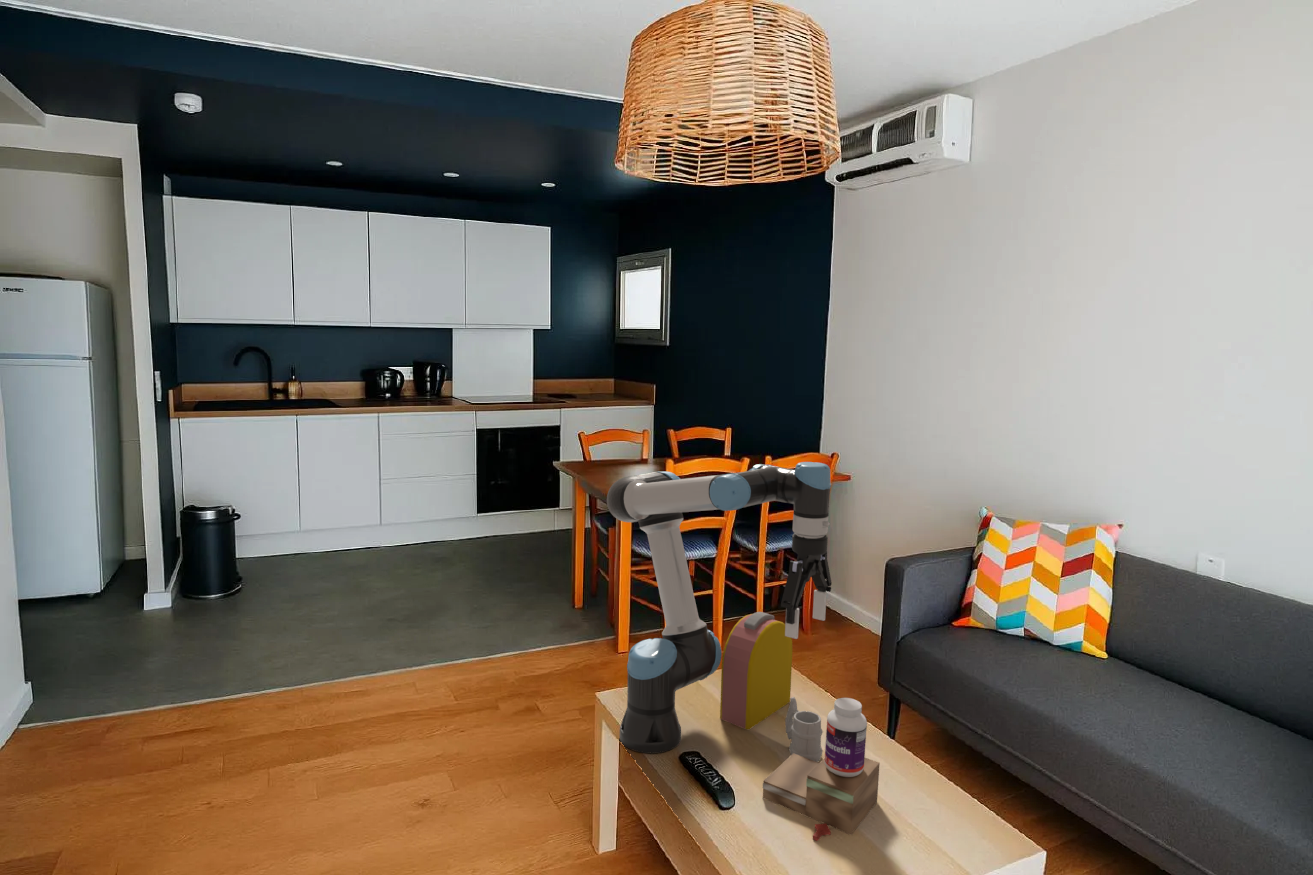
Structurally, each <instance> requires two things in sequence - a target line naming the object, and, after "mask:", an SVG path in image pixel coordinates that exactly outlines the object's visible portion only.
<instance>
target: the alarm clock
mask: <svg viewBox="0 0 1313 875" xmlns="http://www.w3.org/2000/svg"><path fill="white" fill-rule="evenodd" d="M785 624H786V623H785V622H783V621H779V620H776V619H775V615H773V614H771V613H770V614H769V613H767V612H764V611H757V612H754V613H750V614H745V615H744V616H743V617H742V618H740V619H739V620H738V621H737V622H736V624H734V626H733V627H732V629H731V631H730V633H729V635H728V637H727V640H726V642H725V644H724V648H723V652H722V657H721V675H720V676H721V679H720V682H721V683H720V705H719V706H720V708H719V709H720V710H719V712H720V713H719V719H721V720H722V721H725V722H727V723H729V724H732V725H735V726H737V727H740V728H742V729H744V730H751V729H752V728H754V727H755V726H757V725H759V723H761V722H763V721H764V720H766V719H767V718H768V717H770V716H772V715H773V714H774V713H776V712H777V711H778V710H781V708H783V707H785V706H787V704H790V698H791V689H792V688H791V687H792V667H793V638H791V637H787V636H785Z"/></svg>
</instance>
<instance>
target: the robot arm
mask: <svg viewBox="0 0 1313 875" xmlns="http://www.w3.org/2000/svg"><path fill="white" fill-rule="evenodd" d="M830 468H831V467H830V466H829V465H828V464H826V463H824V462H823V463H822V462H815V461H814V462H812V461H801V462H798V463H797V464H795V468H793V469H791V468H786V467H781V466H776V465H772V464H762V463H759V464H755V465H753V466H752V468H750V469H749V470H747V471H740V472H732V473H725V474H717V475H707V476H698V477H688V478H680V477H679V476H678V475H676V474H675V473H674V472H671V471H659V470H658V471H652V472H649V473H648V472H647V473H642V474H637V475H629V476H625V477H622V478H619V479H618V480H616V481H615V482H613V483H612V485H611V486H610V487H609V489H608V492H607V496H606V505H607V508H608V510H609V513H610V514H611V515H612V516H613V518H615V519H616V520H618V521H620V522H623V523H637V522H638V525H639V529H640V530H641V531H643V532H645V534H646V536H647V540H648V545H649V549H650V555H651V557H652V558H651V560H652V565H653V569H654V574H655V578H656V582H657V587H658V593H659V597H660V602H661V605H662V606H661V608H662V611H663V615H664V616H663V617H664V622H665V627H664V628H663V631H662V632H661V635H662V638H661V637H654V638H648V639H643V640H640V641H639V642H637V643H635V644H634V645H633V646H632V647H631V648H630V650H629V652H628V661H627V665H626V668H627V698H626V699H627V702H626V710H625V712H624V715H623V716H622V717H623V718H622V720H621V722H620V723H621V724H620V726H619V740H620V742H621V744H622V745H623V746H625V747H626V748H627V749H629V750H631V751H634V752H638V753H643V754H644V753H645V754H658V753H659V754H660V753H665V752H668V751H670V750H673V749H675V748H676V747H678V745H679V744H680V742H682V726H681V724H680V720H679V718H678V714H677V711H676V706H675V705H676V691H678V690H680V689H682V688H683V689H684V688H686V687H687V686H690V685H693V684H694V683H696V682H699V681H703V680H704V679H707V678H708V677H709V676H711V675H713V674H715V672H716V671H717V669H718V668H719V666H720V665H721V663H722V656H723V652H722V647H721V646H722V645H721V642H720V641H719V639H718V638H719V637H717V636H715V633H714V632H713V631H711V630H710V629H708V626H707V623H706V622H704V620H702V619H701V618H700V617H699V612H698V607H697V604H696V599H695V594H694V590H693V585H692V580H691V575H690V571H689V567H688V561H687V556H686V552H685V548H684V547H685V546H684V542H683V538H682V534H681V529H680V526H681V523H682V522H683V521H684V515H683V513H689V512H701V511H714V510H716V511H717V510H720V511H723V512H727V511H737V510H740V509H742V508H747V507H751V506H755V505H761V504H765V503H768V502H774V501H775V502H781V503H786V504H791V505H793V515H792V532H793V534H792V538H791V549H792V551H793V552H794V553H796V554H797V560H796V561H793V560H790V561H789V567H788V574H787V577H786V578H787V579H786V581H785V586H784V590H783V594H782V598H781V602H780V607H781V608H785V623H784V624H785V636H787V637H791V638H792V639H795V640H797V639H799V622H800V608H799V607H798V606H799V603H800V602H801V598H802V595H803V593H804V590H805V587H806V584H807V583H809V582H810V580H812V582H813V583H814V586H815V588H816V589H814V590H813V605H812V606H813V607H812V619H815V620H817V621H818V620H819V621H826V613H827V612H826V608H827V593H831V591H832V578H831V573H830V568H829V561H828V540H829V539H828V538H829V537H828V536H827V534H828V532H829V527H830V525H831V523H830V522H829V518H830V517H829V516H830V514H829V512H830V511H829V509H830V497H831V495H830V493H831V487H832V483H831V469H830Z"/></svg>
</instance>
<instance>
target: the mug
mask: <svg viewBox="0 0 1313 875" xmlns="http://www.w3.org/2000/svg"><path fill="white" fill-rule="evenodd" d="M784 721H785V723H784V724H785V733H786V736H787V739H788V740H791V742H790V744H789V747H788V749H789V750H788V751H789V753H790V754H789V755H790V756H791V755H792V754H793V753H794V754H797V755H799V756H802V757H805V758H808V759H810V760H813V761H816V762H818V763H820V762H821V758H822V755H823V747H822V744H821V743H822V735H823V732H824V731H823V729H822V718H821V716H820V715H819V714H818V713H815V712H813V711H810V710H799V709H798V703H797V699H796V698H795V696H792V697H790V702H789V706H788V710H787V712H786V716H785V720H784Z"/></svg>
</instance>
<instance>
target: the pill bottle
mask: <svg viewBox="0 0 1313 875" xmlns="http://www.w3.org/2000/svg"><path fill="white" fill-rule="evenodd" d="M834 700H835V701H834V702H833V703H834V704H833V705H834V706H833V709H832V710H830V711H829V712H828V714H827V717H826V732H825V745H824V746H825V747H824V748H825V749H824V758H825V765H826V767H827V769H828V770H829V771H831V772H832V773H834V774H836V775H839V776H843V777H854V776H857V775H859V774H860V773H861V772H862V771H863V769H864V758H866V754H865V753H866V743H867V742H866V741H867V740H866V739H867V727H868V722H867V718H866V716H865V715H864V714H863V713H862V711H863V710H862V709H863V705H862V703H861V702H860V701H859V700H856V699H854V698H851V697H841V698H839V697H838V698H837V699H834Z"/></svg>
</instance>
